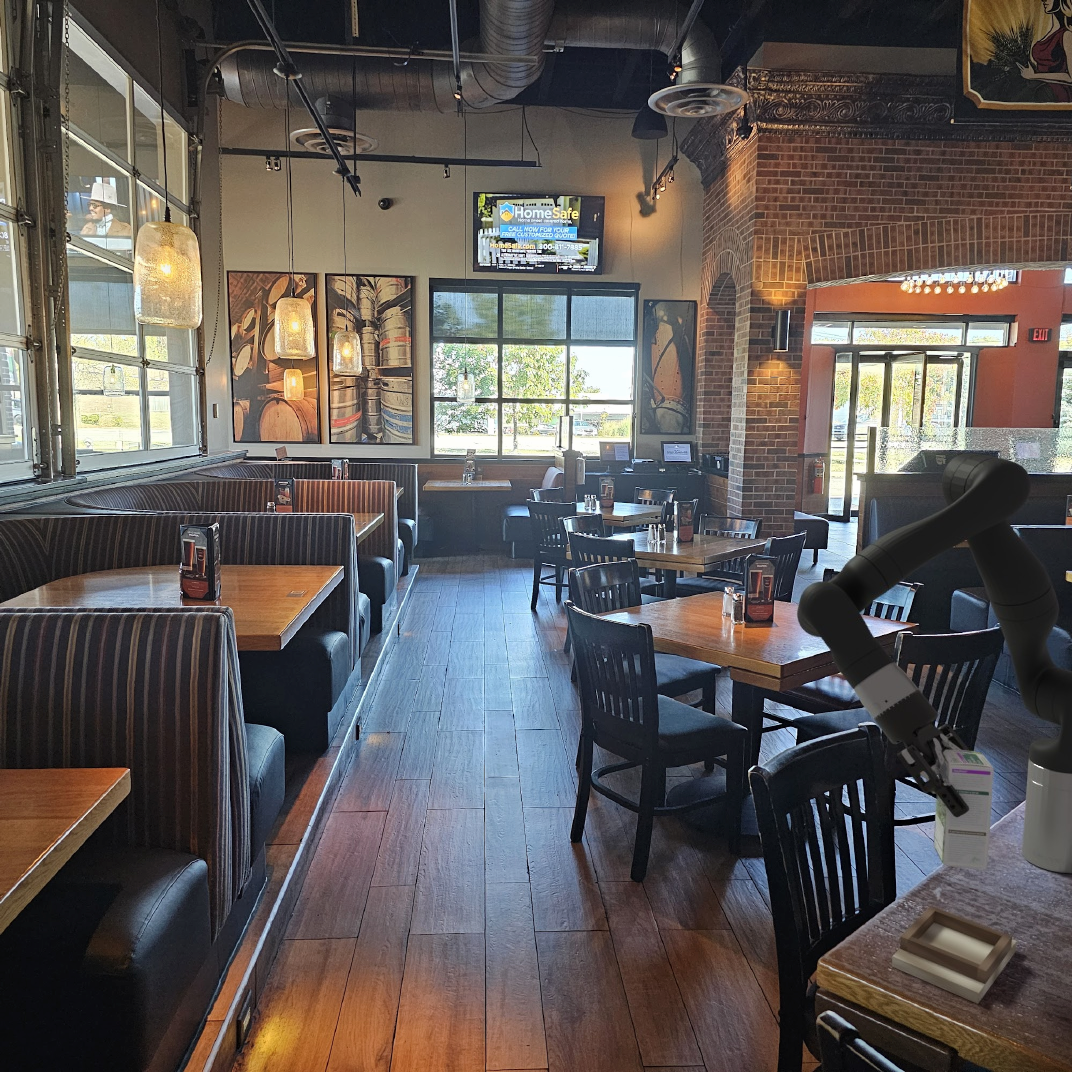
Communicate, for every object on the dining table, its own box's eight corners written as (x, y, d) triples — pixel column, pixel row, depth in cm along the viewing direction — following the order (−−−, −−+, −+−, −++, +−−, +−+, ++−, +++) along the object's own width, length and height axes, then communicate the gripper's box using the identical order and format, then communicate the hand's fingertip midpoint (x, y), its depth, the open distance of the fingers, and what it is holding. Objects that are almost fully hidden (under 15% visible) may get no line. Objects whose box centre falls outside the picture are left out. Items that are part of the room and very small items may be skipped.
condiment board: (935, 919, 129) (936, 899, 128) (1016, 950, 121) (1017, 928, 121) (891, 966, 118) (893, 943, 117) (977, 1003, 110) (979, 979, 110)
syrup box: (988, 871, 115) (997, 766, 113) (941, 866, 116) (949, 762, 114) (976, 851, 120) (984, 751, 118) (930, 846, 121) (938, 747, 120)
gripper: (894, 699, 115) (979, 808, 109) (934, 678, 125) (1014, 777, 119) (853, 727, 120) (932, 833, 113) (895, 705, 130) (970, 802, 123)
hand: (974, 804), depth 116 cm, fingers closed on syrup box, 8 cm apart
